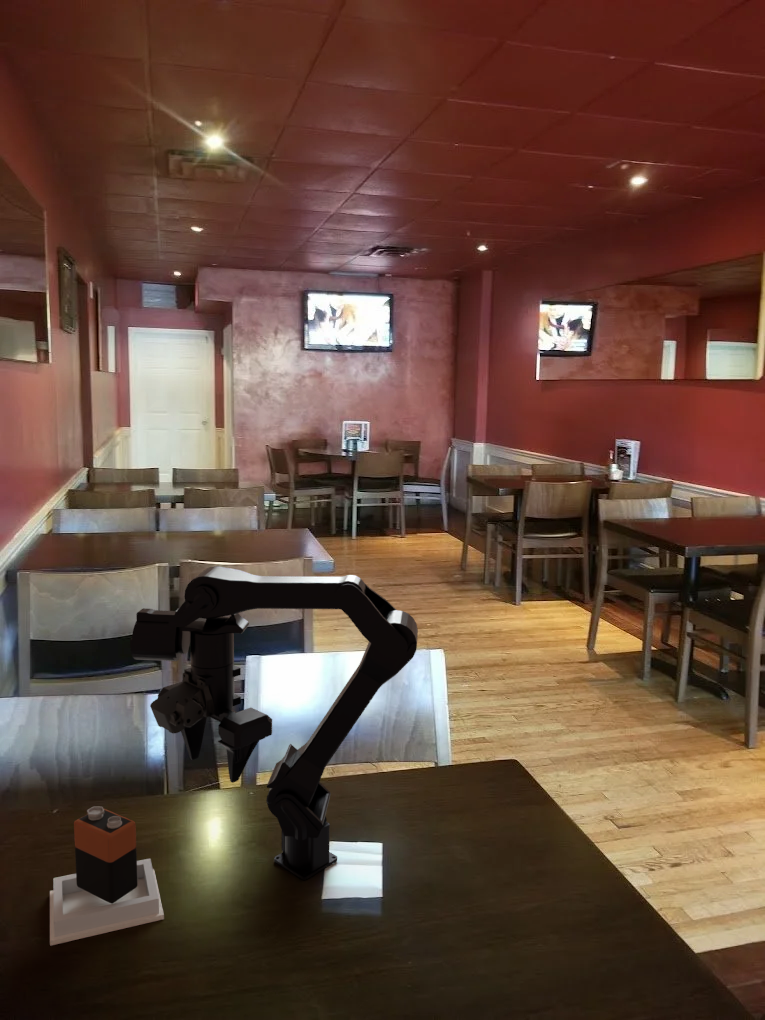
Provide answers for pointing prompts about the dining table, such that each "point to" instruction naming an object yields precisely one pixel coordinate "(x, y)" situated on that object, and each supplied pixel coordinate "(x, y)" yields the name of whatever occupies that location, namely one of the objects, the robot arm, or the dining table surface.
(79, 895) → the tray
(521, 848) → the dining table surface
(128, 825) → the battery
